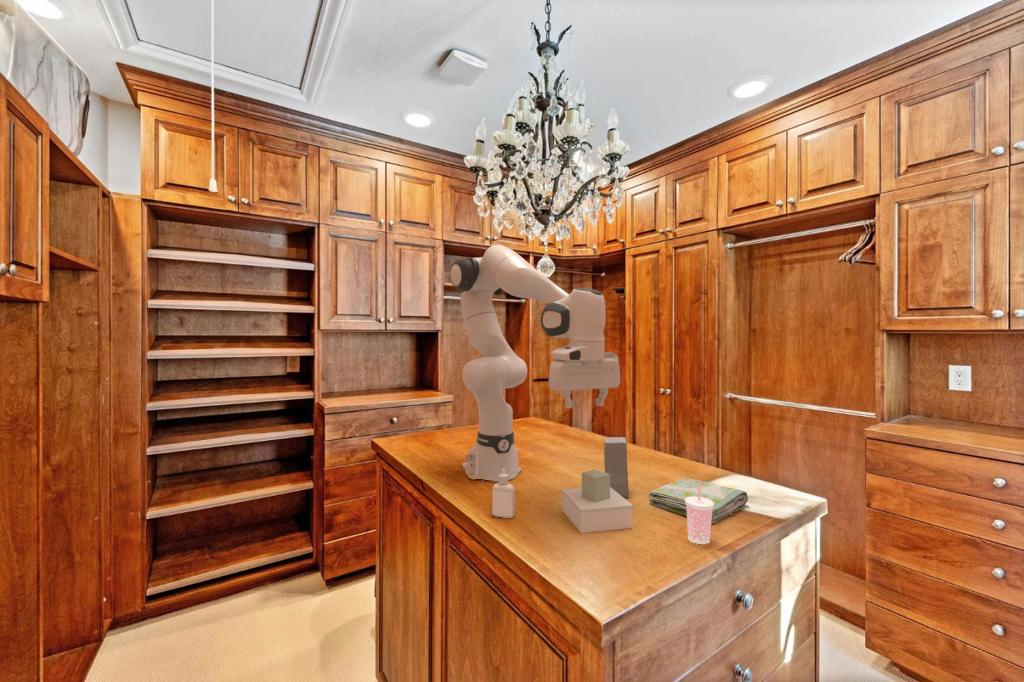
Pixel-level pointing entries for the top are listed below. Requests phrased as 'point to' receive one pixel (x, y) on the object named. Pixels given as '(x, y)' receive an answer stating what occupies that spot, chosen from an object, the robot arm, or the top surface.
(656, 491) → the towel
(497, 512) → the eye dropper bottle
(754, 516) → the top surface
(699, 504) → the beverage cup
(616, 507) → the storage box
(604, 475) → the green block
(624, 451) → the skincare box
